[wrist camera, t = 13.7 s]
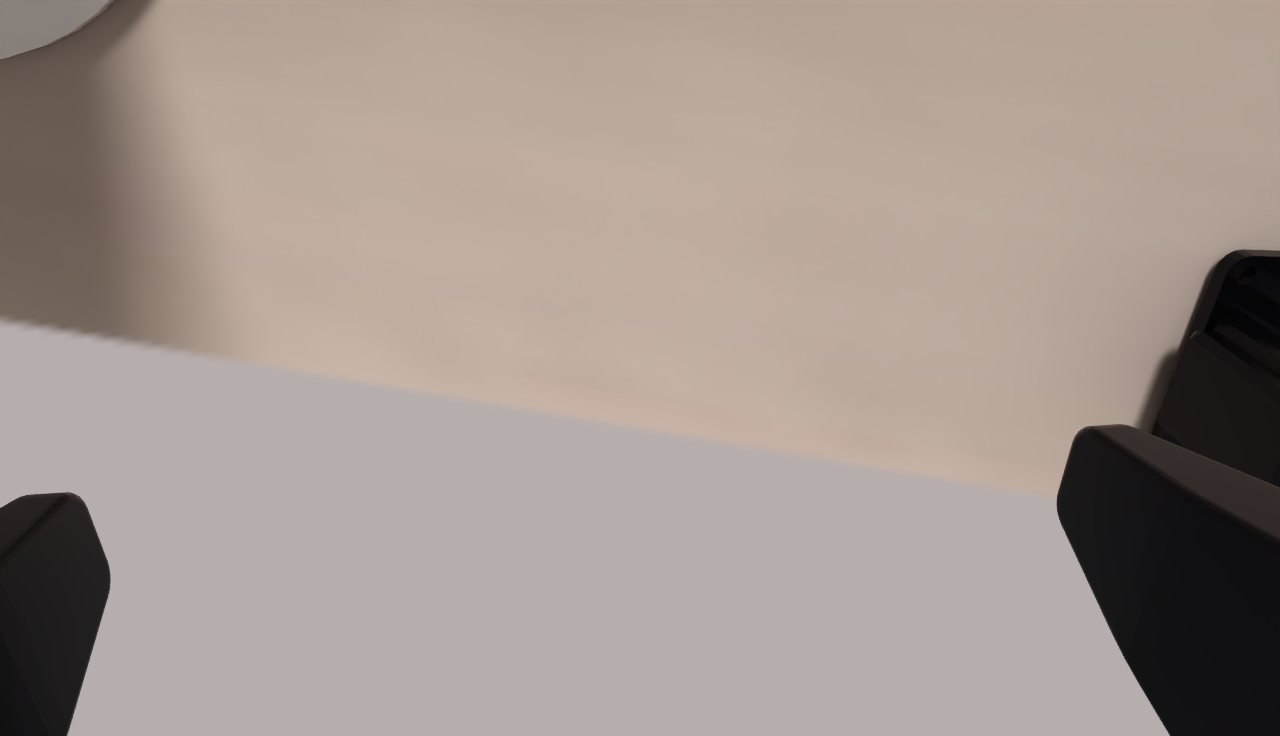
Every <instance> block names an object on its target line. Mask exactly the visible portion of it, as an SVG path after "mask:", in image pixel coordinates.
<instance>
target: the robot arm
mask: <svg viewBox="0 0 1280 736" xmlns="http://www.w3.org/2000/svg"><path fill="white" fill-rule="evenodd" d="M1245 266H1246V267H1245ZM1243 267H1245V270H1244V272H1243V273H1242V275H1240V276H1239V277H1237V278H1235V275H1236V274H1237V272H1238V271H1239V270H1240V269H1241V268H1243ZM1057 512H1058V516H1059V520H1060V522H1061V525H1062V527H1063V529H1064V531H1065V533H1066V536H1067V538H1068V540H1069V542H1070V544H1071V546H1072V548H1073V550H1074V552H1075V555H1076V557H1077V559H1078V561H1079V563H1080V565H1081V568H1082V570H1083V572H1084V574H1085V576H1086V578H1087V581H1088V583H1089V585H1090V587H1091V589H1092V591H1093V593H1094V596H1095V598H1096V600H1097V602H1098V604H1099V606H1100V609H1101V610H1102V613H1103V615H1104V617H1105V619H1106V621H1107V624H1108V626H1109V628H1110V630H1111V632H1112V634H1113V636H1114V638H1115V640H1116V642H1117V644H1118V646H1119V648H1120V650H1121V652H1122V654H1123V656H1124V658H1125V660H1126V662H1127V663H1128V665H1129V667H1130V669H1131V670H1132V672H1133V674H1134V676H1135V678H1136V679H1137V681H1138V683H1139V685H1140V686H1141V688H1142V690H1143V691H1144V693H1145V695H1146V696H1147V698H1148V700H1149V701H1150V703H1151V705H1152V706H1153V708H1154V710H1155V711H1156V713H1157V715H1158V716H1159V718H1160V720H1161V721H1162V723H1163V725H1164V726H1165V728H1166V730H1167V731H1168V733H1169V735H1170V736H1280V251H1269V250H1237V251H1233V252H1231V253H1229V254H1227V255H1226V256H1225V257H1224V258H1223V259H1222V260H1220V262H1219V263H1218V265H1217V267H1216V268H1215V271H1214V273H1213V276H1212V279H1211V281H1210V284H1209V286H1208V289H1207V292H1206V294H1205V297H1204V299H1203V302H1202V305H1201V307H1200V310H1199V312H1198V315H1197V318H1196V320H1195V323H1194V325H1193V328H1192V330H1191V333H1190V336H1189V338H1188V341H1187V343H1186V346H1185V349H1184V351H1183V354H1182V356H1181V359H1180V362H1179V364H1178V367H1177V369H1176V372H1175V375H1174V377H1173V380H1172V382H1171V385H1170V388H1169V390H1168V393H1167V395H1166V398H1165V401H1164V403H1163V406H1162V408H1161V411H1160V414H1159V416H1158V419H1157V421H1156V424H1155V427H1154V429H1153V432H1152V434H1148V433H1146V432H1144V431H1141V430H1139V429H1136V428H1134V427H1131V426H1128V425H1122V424H1116V425H1101V426H1088V427H1085V428H1083V429H1081V430H1080V431H1079V432H1078V433H1077V434H1076V436H1075V437H1074V440H1073V442H1072V446H1071V449H1070V453H1069V456H1068V460H1067V463H1066V467H1065V470H1064V473H1063V477H1062V480H1061V484H1060V487H1059V491H1058V495H1057ZM109 590H110V570H109V565H108V561H107V559H106V556H105V554H104V551H103V548H102V545H101V543H100V540H99V537H98V535H97V532H96V530H95V527H94V525H93V522H92V519H91V516H90V514H89V511H88V508H87V507H86V505H85V503H84V501H83V500H82V499H81V498H80V497H79V496H77V495H75V494H73V493H69V492H67V493H50V494H35V495H26V496H22V497H19V498H17V499H15V500H14V501H12V502H10V503H8V504H7V505H5V506H3V507H1V508H0V736H67V734H68V731H69V728H70V725H71V721H72V718H73V714H74V711H75V708H76V704H77V701H78V697H79V694H80V690H81V687H82V683H83V680H84V677H85V673H86V670H87V667H88V663H89V660H90V656H91V653H92V649H93V646H94V643H95V639H96V636H97V632H98V628H99V626H100V622H101V618H102V615H103V612H104V608H105V605H106V601H107V598H108V594H109Z"/></svg>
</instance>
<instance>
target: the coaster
mask: <svg viewBox="0 0 1280 736" xmlns="http://www.w3.org/2000/svg"><path fill="white" fill-rule="evenodd" d="M114 1H115V0H0V59H4V58H8V57H11V56H14V55H17V54H21V53H24V52H27V51H30V50H33V49H36V48H39V47H42V46H45V45H49V44H52V43H54V42H56V41H58V40H60V39H62V38H64V37H66V36H68V35H70V34H72V33H74V32H76V31H78V30H80V29H81V28H82V27H84V26H85V25H86V24H88V23H89V22H90V21H92V20H93V19H94V18H96V17H97V16H99V15H100V14H101V13H103V12H104V11H105V10H106V9H107V8H108V7H109V6H110V5H111V4H112V3H113V2H114Z"/></svg>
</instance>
